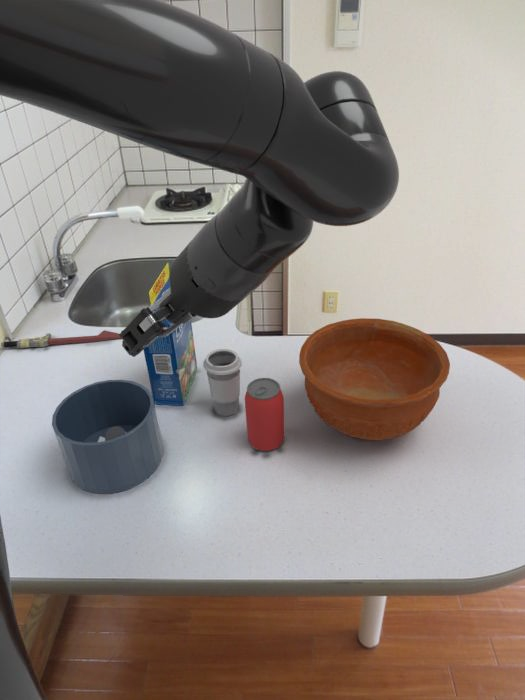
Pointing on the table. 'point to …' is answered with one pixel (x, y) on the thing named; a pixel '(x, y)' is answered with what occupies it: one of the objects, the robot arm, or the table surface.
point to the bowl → (373, 376)
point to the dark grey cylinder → (112, 433)
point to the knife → (59, 340)
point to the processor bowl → (112, 455)
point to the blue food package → (170, 355)
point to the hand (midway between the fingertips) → (155, 331)
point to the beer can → (264, 414)
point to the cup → (224, 380)
